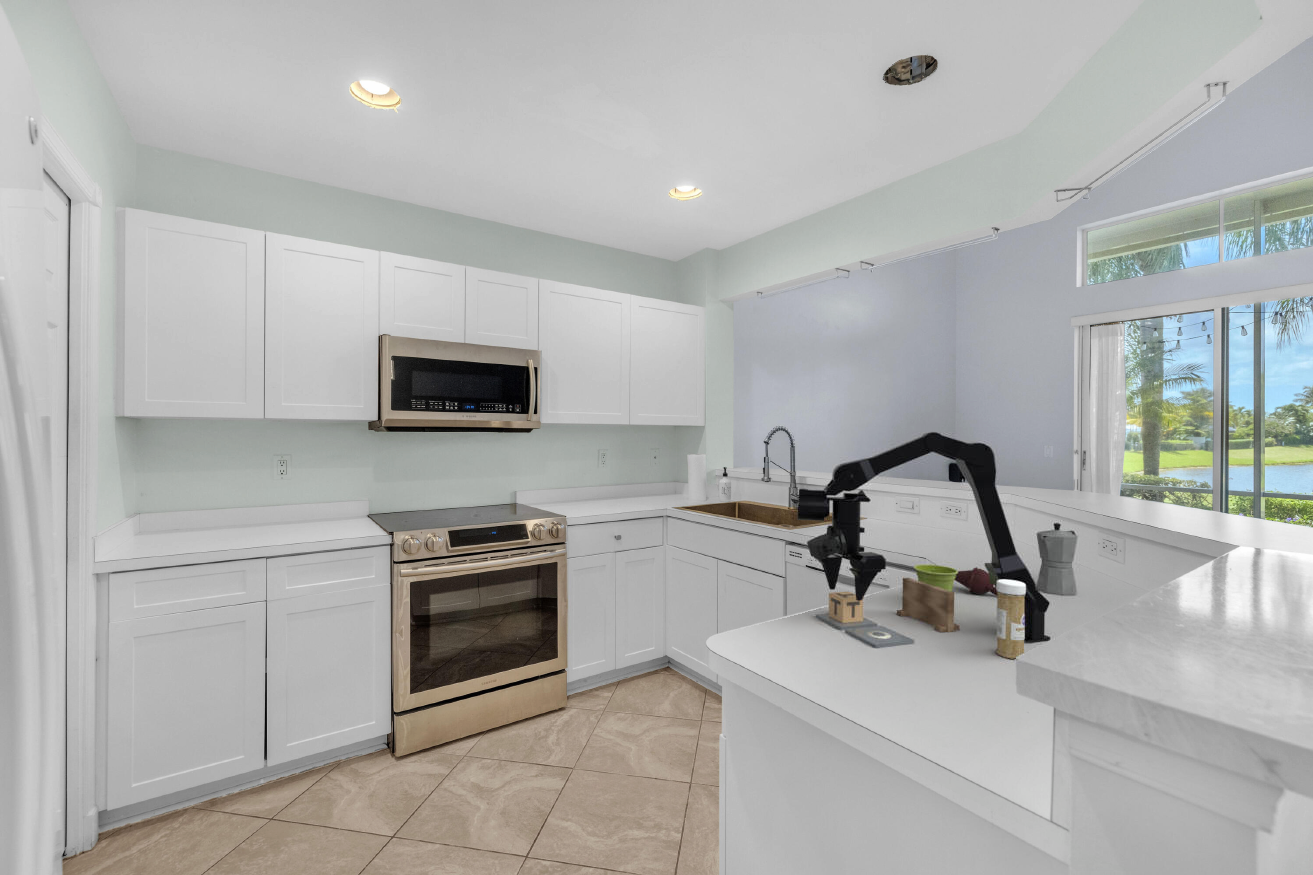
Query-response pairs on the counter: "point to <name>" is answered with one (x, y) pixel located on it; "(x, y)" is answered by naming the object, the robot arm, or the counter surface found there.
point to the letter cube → (845, 607)
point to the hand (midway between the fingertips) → (845, 594)
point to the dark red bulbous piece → (976, 581)
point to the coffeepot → (1057, 561)
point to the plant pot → (936, 575)
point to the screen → (928, 605)
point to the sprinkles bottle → (1010, 618)
